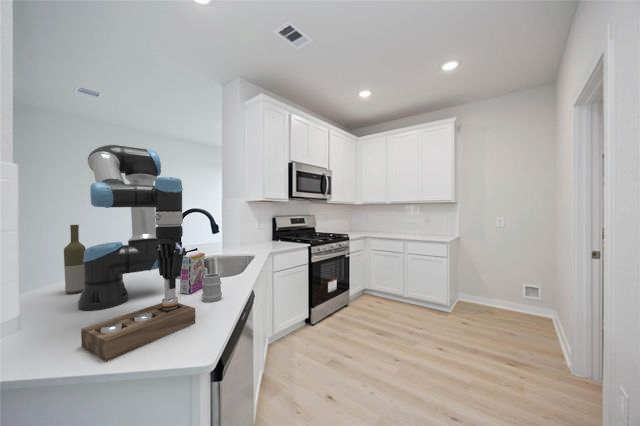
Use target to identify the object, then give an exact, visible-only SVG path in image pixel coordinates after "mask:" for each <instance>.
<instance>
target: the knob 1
mask: <svg viewBox="0 0 640 426" xmlns="http://www.w3.org/2000/svg"><path fill="white" fill-rule="evenodd" d="M120 329H122V324H121V323H112V324H108V325H105V326H103V327H102V328H101V334H103V335H106V334H108V333H111V332H114V331H117V330H120Z"/></svg>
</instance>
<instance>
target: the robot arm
mask: <svg viewBox="0 0 640 426" xmlns="http://www.w3.org/2000/svg"><path fill="white" fill-rule="evenodd" d="M87 165H88V167H89V168H90V170H91V171H92V172H93V176H94V179H95V182H92V183H91V185H90V194H89V195H90V204H91V205H92V207H95V208H106V209H108V208H109V209H110V208H130V210H131V211H130V214H131V215H130V216H131V231H132V232H131V235H132V236H131V237H130V238H129V239H128V241H127V244H125V245H124V244H123V242H121V241H115V242H107V243H106V242H105V243H101V244H96V245H92V246H89V247H87V248H86V250H85V251H84V260H83V262H84V288H83V291H82V292H81V294H80V297H79V298H78V301H77V308H78V310H81V311H96V310H98V311H99V310H104V309H108V308H113V307H115V306H116V307H117V306H120V305H122V304H124V303H126V302H128V300H129V292H128V290H127V287H126V286H125V283H124V276H123V275H125V274H132V273H133V274H134V273H140V272H146V271H153V270H158V274H159V276H162V278H163V279H164V280H163V281H164V282H163V283H164V284H163V285H164V298H165V299H166V300H169V299H172V298H175V297H177V296H176V295H177V293H176V287H177V286H176V285H177V280H176V279H177V278H178V277H180V275H181V268H182V261H183V256H185V253H186V248H185V247H182V246H181V243H180V238H182V237H183V235H184V234H183V233H184V232H183V231H184V230H183V226H182V224H184V223H183V183H182V180H181V179H180V178H179V177H172V176H170V177H169V176H160V175H161V173H162V163H161V159H160V156H159V154H158V153H157V151H155V150H152V149H147V148H139V147H133V146H132V147H131V146H125V145H117V144H108V145H107V144H106V145H102V146H99V147H96V148H95V149H93V150H92V151H91V152H90V153H89V155H88V157H87ZM122 174H124V177H125V180H126V181H128V182H129V183H126V182H125V180H124V178H123V175H122Z"/></svg>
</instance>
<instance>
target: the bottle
mask: <svg viewBox="0 0 640 426" xmlns="http://www.w3.org/2000/svg"><path fill="white" fill-rule="evenodd" d="M69 228H70V242H69V243H68V244H67V245H66V246H65V247H64V248H63V261H64V262H63V264H64V265H63V268H64V283H65V284H64V285H65V288H64V289H65V294H67V295H75V294H80V293H82V291H83V288H84V262H83V260H84V251H85V250H86V249H87V248H86V246H85V245H84V244H83V243H81V242H80V241H79V240H80V237H79V236H80V235H79V233H80V231H79V230H80V229H79V228H80V225H79V224H70V226H69Z"/></svg>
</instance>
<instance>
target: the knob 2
mask: <svg viewBox="0 0 640 426" xmlns="http://www.w3.org/2000/svg"><path fill="white" fill-rule="evenodd" d="M151 318H153V316H152V313H142V314H139V315H136V316H135V317H134V321H135V322H137V323H139V322H142V321H145V320H148V319H151Z"/></svg>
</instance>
